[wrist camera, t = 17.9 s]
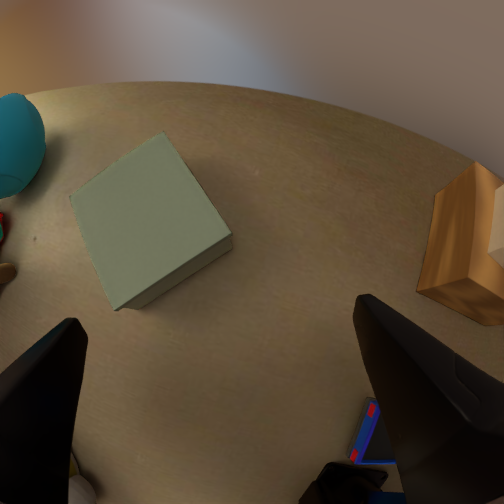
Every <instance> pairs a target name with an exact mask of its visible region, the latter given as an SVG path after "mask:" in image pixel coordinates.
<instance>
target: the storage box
mask: <svg viewBox="0 0 504 504" xmlns="http://www.w3.org/2000/svg"><path fill="white" fill-rule="evenodd" d="M69 198H70V201H71V204H72V208H73V211H74V214H75V217H76V220H77V223H78V226H79V229H80V232H81V234H82V237H83V240H84V243H85V245H86V248H87V250H88V253H89V256H90V258H91V261H92V263H93V265H94V268H95V270H96V273H97V275H98V277H99V280H100V282H101V284H102V286H103V289H104V291H105V293H106V295H107V297H108V299H109V302H110V304H111V306H112V308H113V310H114V311H119V310H120V309H122V308H129V309H136V310H139V309H140V308H142V307H143V306H145V305H146V304H148V303H149V302H151V301H152V300H154V299H155V298H157V297H158V296H160V295H161V294H163V293H165V292H166V291H168V290H169V289H171V288H172V287H174V286H175V285H177V284H178V283H180V282H181V281H183V280H184V279H186V278H187V277H189V276H190V275H192V274H193V273H195V272H197V271H198V270H200V269H201V268H203V267H204V266H206V265H207V264H209V263H210V262H212V261H213V260H215V259H217V258H218V257H220V256H221V255H223V254H224V253H226V252H227V251H229V250H231V249H232V245H231V242H230V238H229V237H231V236H232V232H231V230H230V229H229V228H228V226H227V225H226V223H225V222H224V220H223V219H222V217H221V216H220V214H219V213H218V211H217V210H216V208H215V207H214V205H213V204H212V202H211V201H210V199H209V198H208V197H207V195H206V194H205V192H204V191H203V189H202V188H201V186H200V185H199V183H198V182H197V180H196V179H195V177H194V176H193V174H192V173H191V171H190V170H189V168H188V167H187V165H186V164H185V162H184V161H183V159H182V158H181V156H180V155H179V153H178V152H177V150H176V149H175V147H174V146H173V144H172V143H171V142H170V140H169V139H168V137H167V136H166V134H165V133H164V131H162V132H161V133H159V134H157V135H156V136H154V137H152V138H151V139H149V140H147V141H146V142H144V143H143V144H141V145H139V146H138V147H136V148H135V149H133V150H132V151H130V152H129V153H127V154H126V155H124V156H123V157H121V158H120V159H118V160H117V161H115V162H114V163H113V164H111V165H110V166H108V167H107V168H106V169H104V170H103V171H101V172H100V173H99V174H97V175H96V176H95V177H93V178H92V179H91V180H89V181H88V182H87V183H85V184H84V185H83V186H82V187H80V188H79V189H78V190H77V191H75V192H74V193H73V194H72V195H70V196H69Z"/></svg>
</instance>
